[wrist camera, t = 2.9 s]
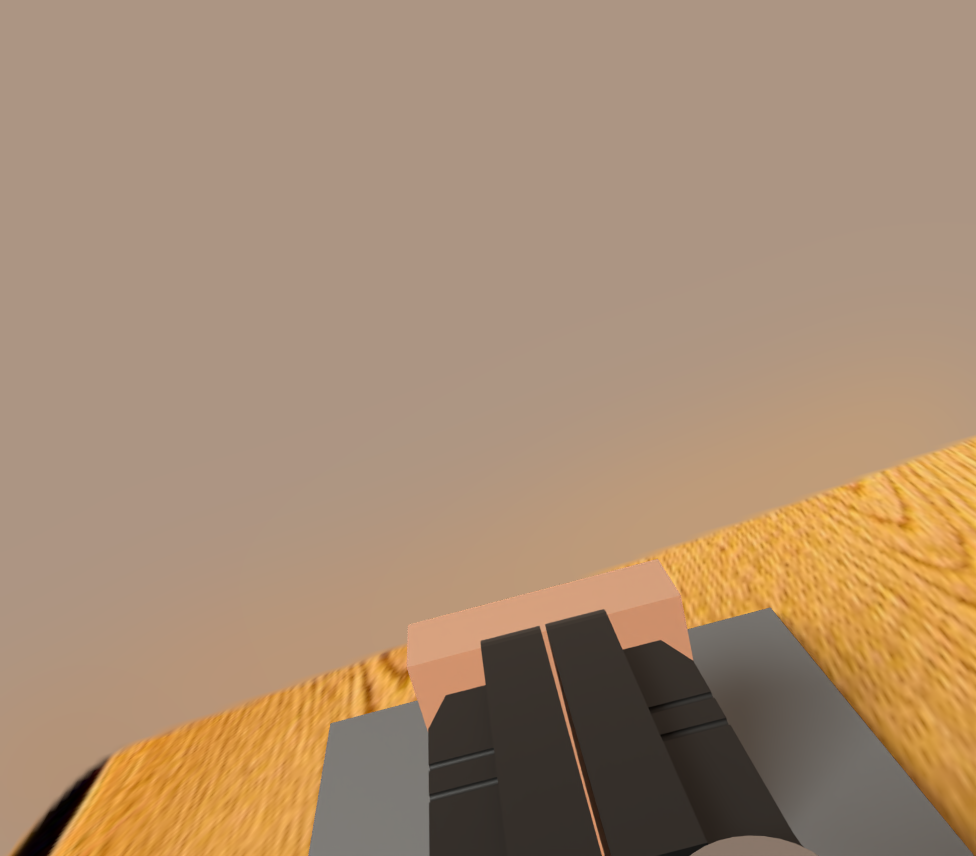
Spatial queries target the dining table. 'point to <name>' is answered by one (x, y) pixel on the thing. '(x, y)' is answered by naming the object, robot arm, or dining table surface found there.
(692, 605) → the dining table surface
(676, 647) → the tile
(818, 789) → the mat
